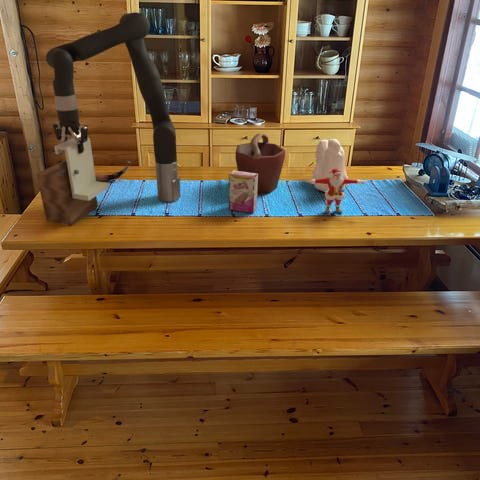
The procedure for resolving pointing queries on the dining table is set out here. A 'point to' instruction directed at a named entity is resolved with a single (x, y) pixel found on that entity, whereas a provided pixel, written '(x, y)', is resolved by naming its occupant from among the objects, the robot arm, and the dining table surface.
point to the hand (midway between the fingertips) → (74, 151)
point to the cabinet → (62, 196)
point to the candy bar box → (243, 191)
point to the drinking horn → (112, 176)
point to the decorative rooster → (328, 162)
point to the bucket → (261, 162)
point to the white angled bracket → (81, 170)
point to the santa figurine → (335, 188)
